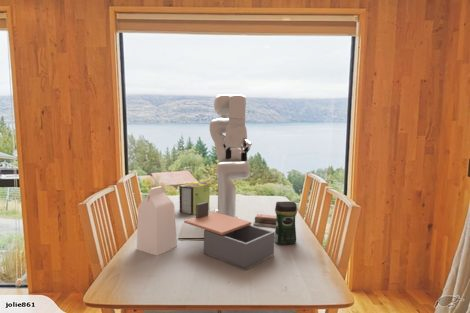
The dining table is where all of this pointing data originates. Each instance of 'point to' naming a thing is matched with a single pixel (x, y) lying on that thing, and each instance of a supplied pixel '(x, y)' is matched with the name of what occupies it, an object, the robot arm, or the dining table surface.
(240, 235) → the carton
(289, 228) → the coffee jar
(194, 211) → the protein box
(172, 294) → the dining table surface
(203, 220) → the lid
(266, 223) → the packaged product
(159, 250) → the milk
